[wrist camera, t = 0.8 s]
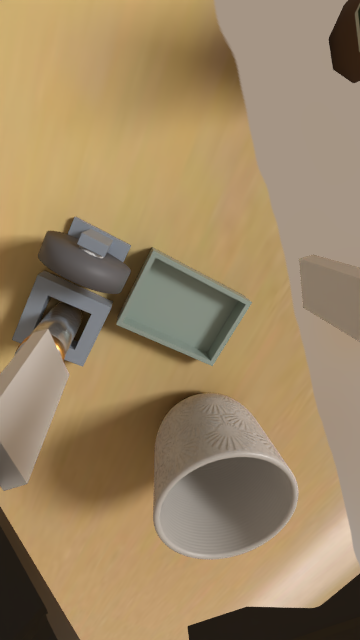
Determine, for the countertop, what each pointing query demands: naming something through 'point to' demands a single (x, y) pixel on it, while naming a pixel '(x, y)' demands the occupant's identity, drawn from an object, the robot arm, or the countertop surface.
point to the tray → (182, 308)
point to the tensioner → (77, 281)
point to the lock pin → (60, 326)
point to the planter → (218, 480)
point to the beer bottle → (347, 42)
